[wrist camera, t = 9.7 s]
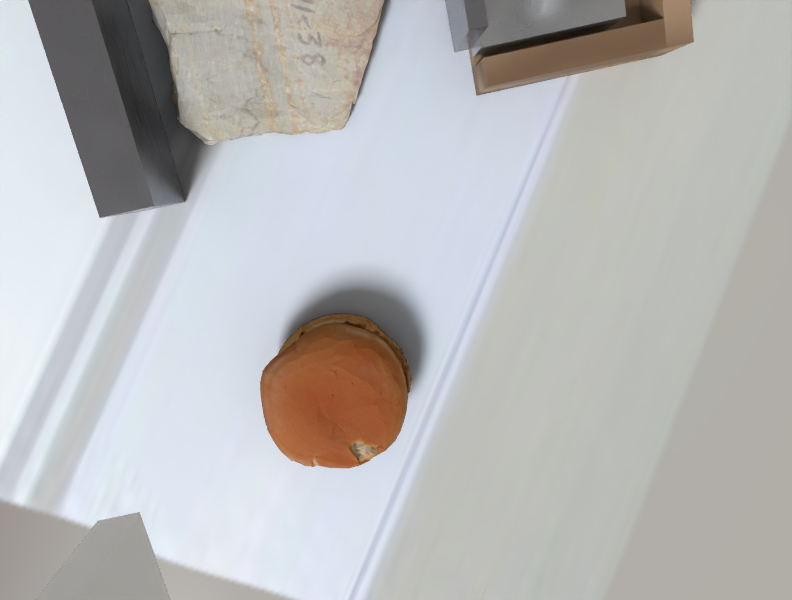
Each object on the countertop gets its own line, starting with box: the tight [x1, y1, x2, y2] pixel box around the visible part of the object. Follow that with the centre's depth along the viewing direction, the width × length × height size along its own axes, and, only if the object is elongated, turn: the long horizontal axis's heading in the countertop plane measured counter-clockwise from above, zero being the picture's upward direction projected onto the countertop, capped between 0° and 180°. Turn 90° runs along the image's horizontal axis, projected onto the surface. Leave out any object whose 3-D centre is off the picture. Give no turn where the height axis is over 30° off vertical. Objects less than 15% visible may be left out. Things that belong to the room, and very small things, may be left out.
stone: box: [149, 0, 384, 146], centre depth 32 cm, size 15×11×3 cm
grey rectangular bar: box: [28, 0, 185, 218], centre depth 30 cm, size 16×3×5 cm, turn 12°
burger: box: [260, 314, 411, 468], centre depth 36 cm, size 10×9×5 cm
